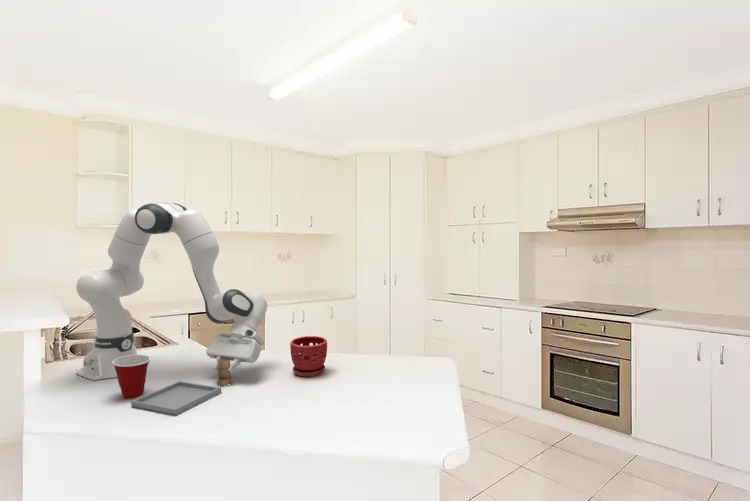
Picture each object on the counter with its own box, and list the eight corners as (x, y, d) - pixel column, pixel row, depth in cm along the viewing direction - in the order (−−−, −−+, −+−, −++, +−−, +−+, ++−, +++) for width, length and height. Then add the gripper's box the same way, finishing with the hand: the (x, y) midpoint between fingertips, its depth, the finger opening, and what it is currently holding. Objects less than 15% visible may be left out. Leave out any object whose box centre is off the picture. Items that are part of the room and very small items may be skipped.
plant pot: (284, 377, 152) (283, 343, 151) (302, 365, 164) (301, 334, 164) (318, 380, 148) (316, 346, 147) (333, 368, 160) (332, 336, 160)
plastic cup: (136, 403, 133) (133, 364, 132) (105, 401, 135) (103, 363, 134) (160, 389, 143) (158, 354, 143) (132, 388, 145) (130, 353, 145)
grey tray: (131, 407, 129) (131, 401, 129) (179, 386, 146) (179, 381, 146) (175, 416, 122) (175, 409, 122) (221, 392, 139) (221, 387, 139)
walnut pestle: (214, 385, 146) (213, 362, 146) (224, 380, 150) (223, 357, 150) (225, 387, 144) (224, 363, 144) (235, 382, 149) (234, 359, 148)
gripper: (213, 328, 157) (194, 363, 148) (259, 332, 149) (241, 369, 140) (223, 337, 161) (204, 372, 153) (268, 342, 153) (251, 378, 145)
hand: (222, 371), depth 146 cm, fingers closed on walnut pestle, 4 cm apart
